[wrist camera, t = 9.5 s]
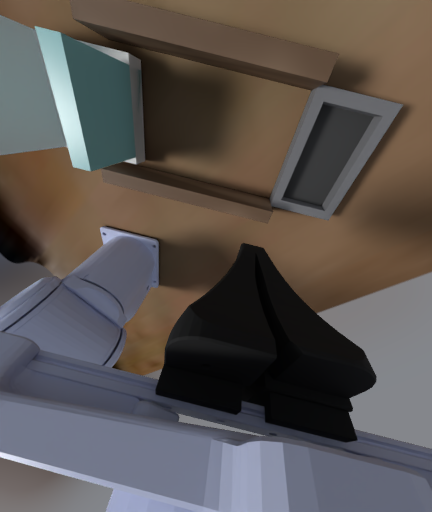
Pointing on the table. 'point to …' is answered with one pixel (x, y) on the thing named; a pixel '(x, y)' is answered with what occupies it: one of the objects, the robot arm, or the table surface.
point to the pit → (330, 149)
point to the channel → (212, 53)
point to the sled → (69, 97)
